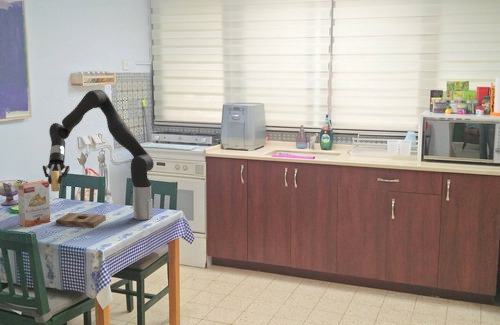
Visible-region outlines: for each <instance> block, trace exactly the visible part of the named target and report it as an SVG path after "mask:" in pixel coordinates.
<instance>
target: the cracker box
mask: <svg viewBox="0 0 500 325" xmlns="http://www.w3.org/2000/svg"><path fill="white" fill-rule="evenodd" d="M17 199H18V200H17V201H18V222H19V223H18V224H19V226H21V227H23V228H28V227H31V226H32V227H33V226H36V225H42V224H46V223H50V222H51V208H50V207H51V205H50V204H51V201H50V200H51V196H50V184H49V182H48V180H44V179H43V180H42V179H41V180H35V181H30V182H23V183H19V184H17Z"/></svg>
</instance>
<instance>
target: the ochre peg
mask: <svg viewBox="0 0 500 325" xmlns="http://www.w3.org/2000/svg"><path fill="white" fill-rule="evenodd" d="M58 181H59V171H51V184H50V189H51V192H59V191H60V184H59V183H58Z"/></svg>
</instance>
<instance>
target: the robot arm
mask: <svg viewBox="0 0 500 325" xmlns="http://www.w3.org/2000/svg"><path fill="white" fill-rule="evenodd" d="M93 109H100V111H101V112H102V113H103V114H104V116H105V118H106V123H107V128H108V132H109V134H110V135H111V136H112V137H113V139H114V141H116V142H117V143H118V144H119V145H120V146H122V147H123V148H124V149H126V150H127V151H128V152H129V153H130V154H131V155H132V157H133V158H132V160H131V161H130V178H131V181H132V196H133V197H132V199H133V200H132V201H133V203H132V204H133V206H132V207H133V209H132V210H133V213H132V214H133V219H134V220H138V221H140V220H141V221H144V220H150V219H151V218H152V217H153V210H154V209H153V208H154V207H153V204H154V202H153V198H152V180H151V179H149V178H148V172H150V171H152V169H153V168H154V160H153V157H152V156H151V155H150V154H149V153H148V152H147V150H146V149H145V148H144V147H143V146H142V145H141V144H140V142H139V140H138V139H137V138H136V136H135V134H133V132H132V131H131V129H130V128H129V125H127V124H126V122H125V121H124V120H123V118H122V117H121V115H120V114H119V112H118V110H117V109H116V108H115V106H114V105H113V103H112V101H111V99H110V97H109V95H108V94H107V92H106V91H104V90H102V89H94V90H93V89H92V90H89V91H87V93H86V94H85V95H84V96H83V98H81V100H80V101H79V103H78V104H77V105H76V106H75V107H74V108H73V110H71V112H69V113H68V114H67V115H66V116H65V117H63V119H62V120H61V124H60V123H59V122H58V123H57V122H53V123H52V124H51V125H50V127H49V129H48V130H49V132H48V133H49V137H50V141H51V143H50V144H51V147H50V150H49V158H48V164H47V165H42V170H43V173H44V176H45V178H47V181H48V182H49V185H51V171H59V181H58V183H59V185H61V184H62V182H63V178H66V177H67V176H68V173H69V172H70V165H65V159H66V158H65V157H66V141H65V140H66V139H68V138H69V136H70V135H71V133H72V131H73V129H74V128H75V127H76V126H77V125H79V124H80V123H81V121H82V120H83V118H84V116H85V115H86V113H88V112H89V111H91V110H93ZM47 170H49V172H48V171H47ZM62 171H63V172H62Z"/></svg>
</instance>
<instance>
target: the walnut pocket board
mask: <svg viewBox="0 0 500 325" xmlns="http://www.w3.org/2000/svg"><path fill="white" fill-rule="evenodd" d="M106 220H107V219H106V215H105V214H93V213H91V214H90V213H77V212H75V213H74V212H68V213H66V214H64V215H63V216H61V217H59V218H57V219H55V225H56V226H68V227H69V226H70V227H81V228H96V227H97V226H99V225H100V224H102V223H103V222H105V221H106Z"/></svg>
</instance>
